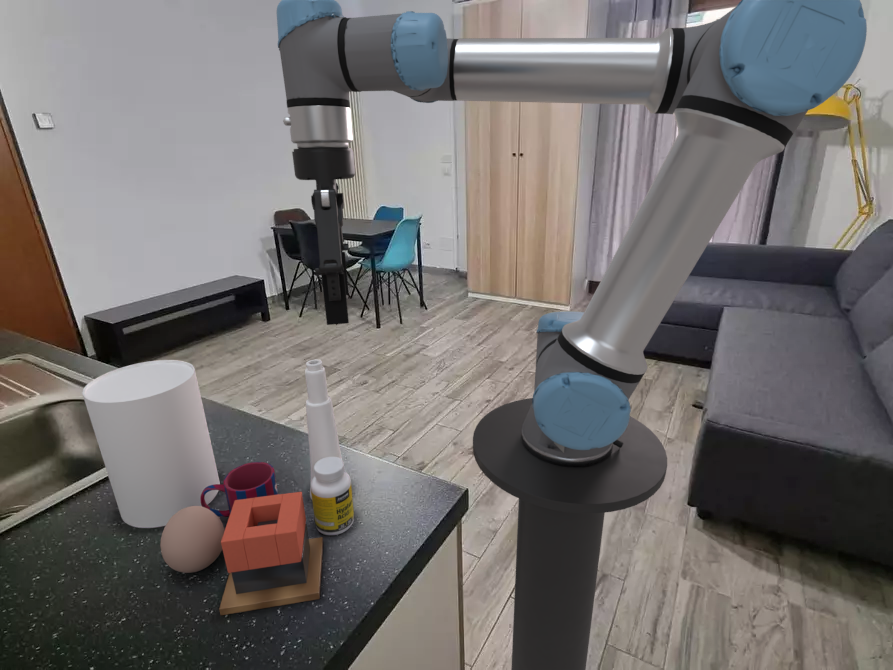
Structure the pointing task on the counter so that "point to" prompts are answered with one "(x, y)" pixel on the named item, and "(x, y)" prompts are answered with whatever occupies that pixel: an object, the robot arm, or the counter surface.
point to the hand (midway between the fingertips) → (339, 307)
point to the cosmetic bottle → (320, 416)
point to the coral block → (264, 532)
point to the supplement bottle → (332, 496)
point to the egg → (192, 539)
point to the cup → (244, 485)
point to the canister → (152, 439)
